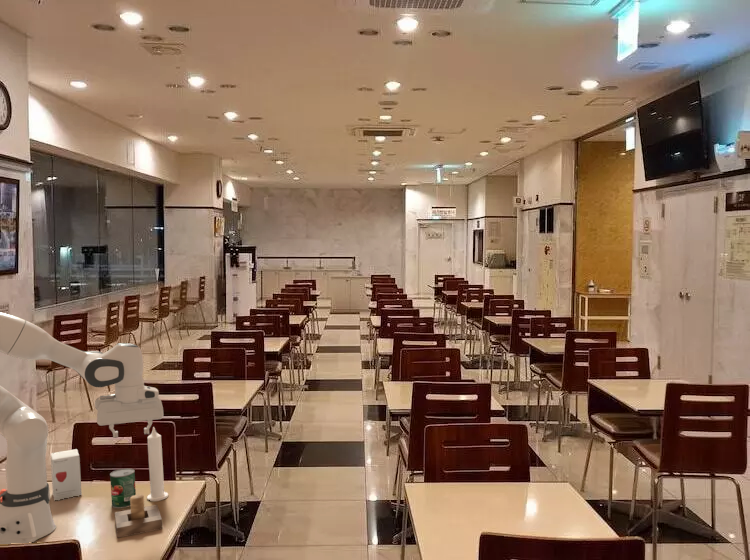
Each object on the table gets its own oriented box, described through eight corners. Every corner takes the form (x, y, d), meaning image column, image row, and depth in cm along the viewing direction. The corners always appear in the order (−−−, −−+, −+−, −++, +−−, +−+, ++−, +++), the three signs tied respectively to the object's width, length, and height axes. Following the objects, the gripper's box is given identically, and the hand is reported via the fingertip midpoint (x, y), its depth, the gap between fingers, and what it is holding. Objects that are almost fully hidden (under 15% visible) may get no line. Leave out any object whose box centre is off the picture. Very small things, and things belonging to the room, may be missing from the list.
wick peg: (132, 528, 206) (130, 500, 206) (131, 523, 210) (129, 496, 209) (145, 526, 208) (144, 498, 207) (144, 521, 211) (143, 493, 211)
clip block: (117, 537, 200) (116, 528, 200) (115, 521, 212) (114, 512, 212) (162, 528, 205) (161, 519, 205) (157, 513, 217) (157, 504, 217)
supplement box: (54, 501, 231) (51, 459, 230) (52, 493, 238) (49, 452, 237) (82, 496, 235) (79, 454, 234) (79, 488, 243) (77, 448, 242)
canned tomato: (106, 507, 224) (104, 475, 223) (121, 498, 231) (119, 467, 231) (127, 509, 222) (125, 476, 221) (141, 499, 230) (139, 468, 229)
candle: (142, 499, 230) (138, 428, 228) (158, 492, 236) (154, 423, 234) (157, 502, 226) (153, 430, 225) (172, 495, 233) (168, 425, 231)
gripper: (94, 398, 206) (96, 442, 207) (163, 391, 214) (164, 434, 215) (94, 394, 212) (96, 437, 212) (161, 388, 220) (162, 429, 220)
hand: (131, 435), depth 214 cm, fingers open, 8 cm apart
